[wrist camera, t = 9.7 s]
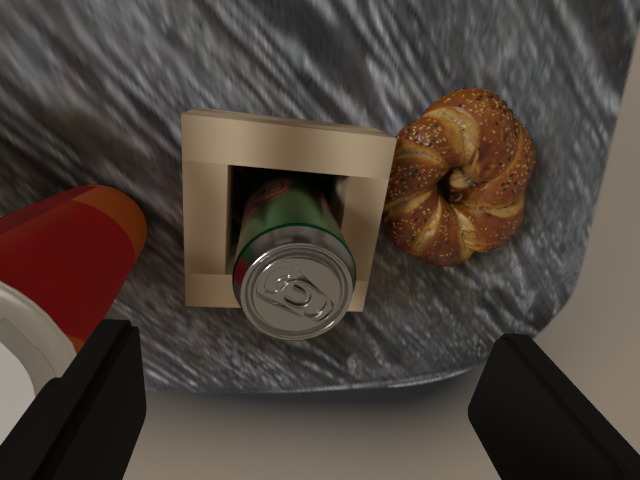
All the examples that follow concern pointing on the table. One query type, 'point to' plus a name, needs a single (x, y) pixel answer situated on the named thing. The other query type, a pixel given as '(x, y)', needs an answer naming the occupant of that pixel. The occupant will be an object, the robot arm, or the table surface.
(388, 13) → the table surface
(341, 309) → the soda can
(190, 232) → the holder
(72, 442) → the robot arm
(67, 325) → the paper cup
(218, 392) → the table surface
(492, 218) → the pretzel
